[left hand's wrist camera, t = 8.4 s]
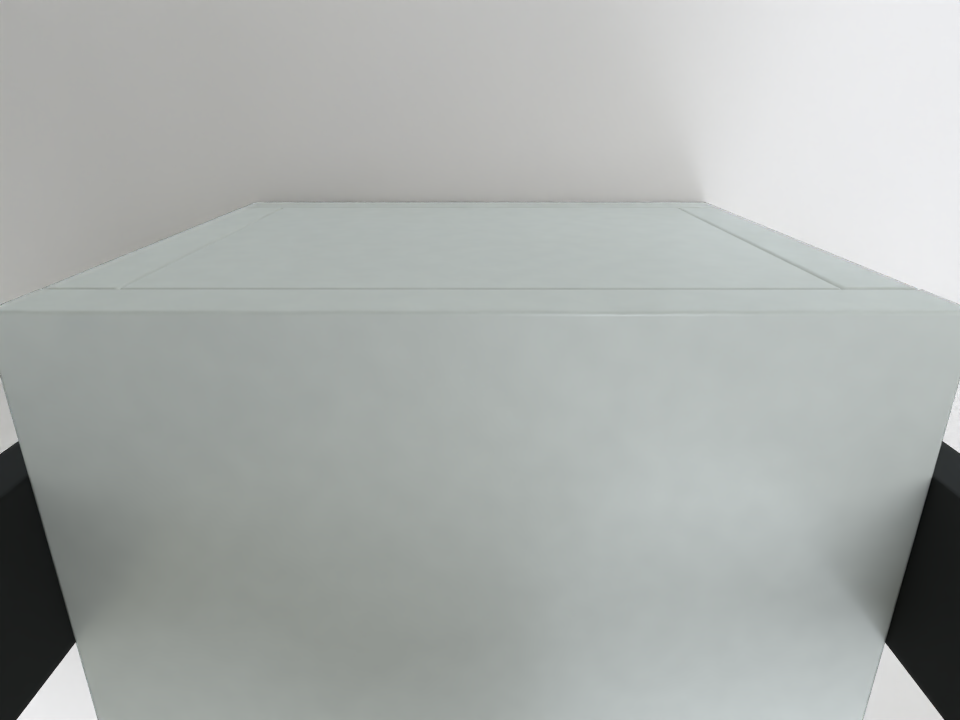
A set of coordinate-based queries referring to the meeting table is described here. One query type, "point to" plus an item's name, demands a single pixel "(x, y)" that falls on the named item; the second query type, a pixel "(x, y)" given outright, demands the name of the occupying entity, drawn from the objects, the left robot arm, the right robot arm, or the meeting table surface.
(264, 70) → the meeting table surface
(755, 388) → the cabinet
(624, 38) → the meeting table surface
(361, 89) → the meeting table surface
